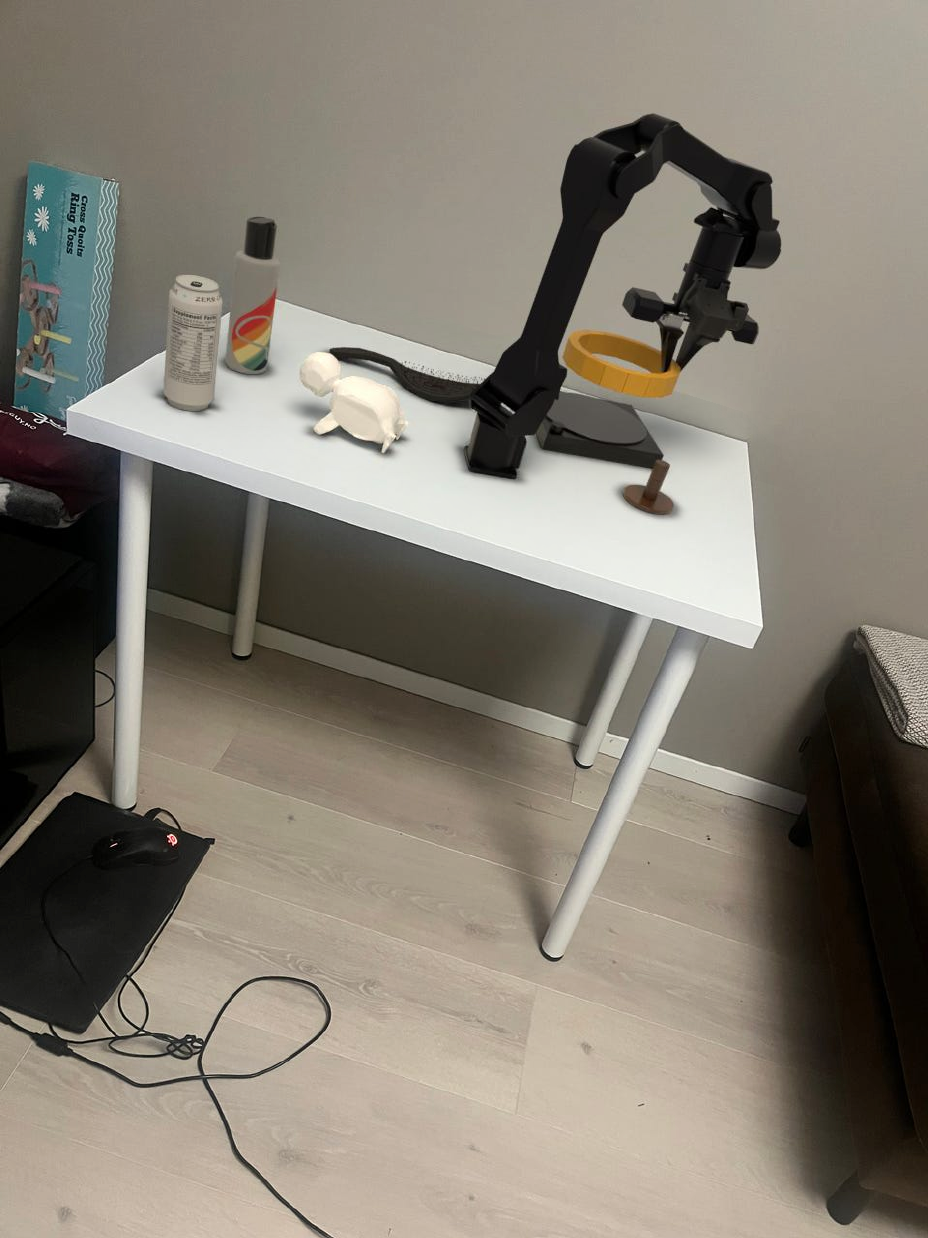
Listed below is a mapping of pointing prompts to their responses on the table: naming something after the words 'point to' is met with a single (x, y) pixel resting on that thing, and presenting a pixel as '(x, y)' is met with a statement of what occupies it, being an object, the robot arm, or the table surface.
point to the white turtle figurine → (353, 401)
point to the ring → (616, 376)
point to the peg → (651, 492)
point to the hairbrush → (414, 377)
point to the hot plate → (598, 431)
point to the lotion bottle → (253, 299)
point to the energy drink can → (192, 342)
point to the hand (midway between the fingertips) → (668, 373)
